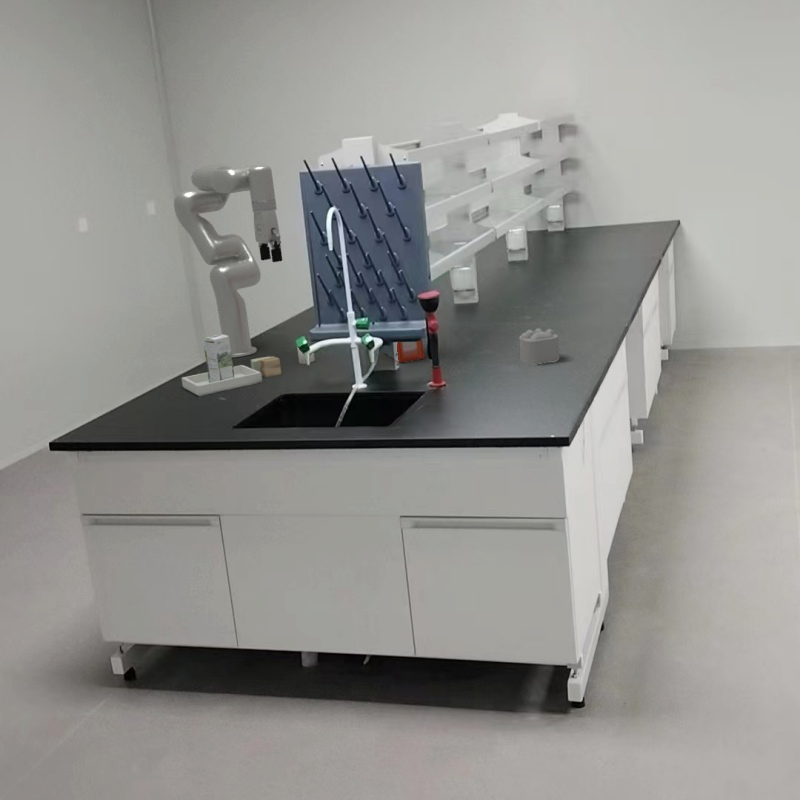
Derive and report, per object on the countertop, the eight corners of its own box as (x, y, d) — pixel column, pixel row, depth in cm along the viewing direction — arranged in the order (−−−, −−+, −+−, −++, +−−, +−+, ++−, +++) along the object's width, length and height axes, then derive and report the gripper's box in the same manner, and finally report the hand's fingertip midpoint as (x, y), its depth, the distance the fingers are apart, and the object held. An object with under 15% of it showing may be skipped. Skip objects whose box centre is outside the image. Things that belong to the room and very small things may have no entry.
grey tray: (183, 387, 317) (181, 377, 316) (243, 374, 326) (242, 364, 325) (199, 396, 303) (197, 386, 302) (262, 382, 312) (261, 372, 311)
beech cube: (260, 374, 323) (258, 359, 321) (275, 371, 325) (273, 356, 324) (266, 377, 318) (264, 361, 317) (281, 374, 321) (279, 358, 319)
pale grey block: (296, 362, 334) (294, 344, 333) (311, 359, 337) (308, 341, 335) (303, 364, 330) (300, 346, 329) (317, 361, 332) (314, 343, 331)
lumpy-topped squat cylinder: (529, 366, 296) (527, 337, 294) (515, 357, 308) (512, 329, 306) (563, 361, 298) (561, 331, 296) (548, 352, 310) (546, 324, 308)
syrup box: (223, 379, 318) (216, 333, 314) (236, 381, 314) (229, 334, 311) (209, 384, 314) (201, 338, 310) (221, 386, 310) (214, 339, 307)
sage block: (252, 371, 329) (250, 359, 328) (270, 368, 330) (268, 356, 329) (255, 374, 325) (253, 361, 324) (273, 370, 327) (271, 358, 326)
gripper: (243, 207, 329) (250, 260, 334) (263, 208, 314) (270, 264, 319) (265, 204, 333) (272, 257, 337) (285, 205, 318) (293, 260, 322)
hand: (271, 260), depth 328 cm, fingers open, 9 cm apart
